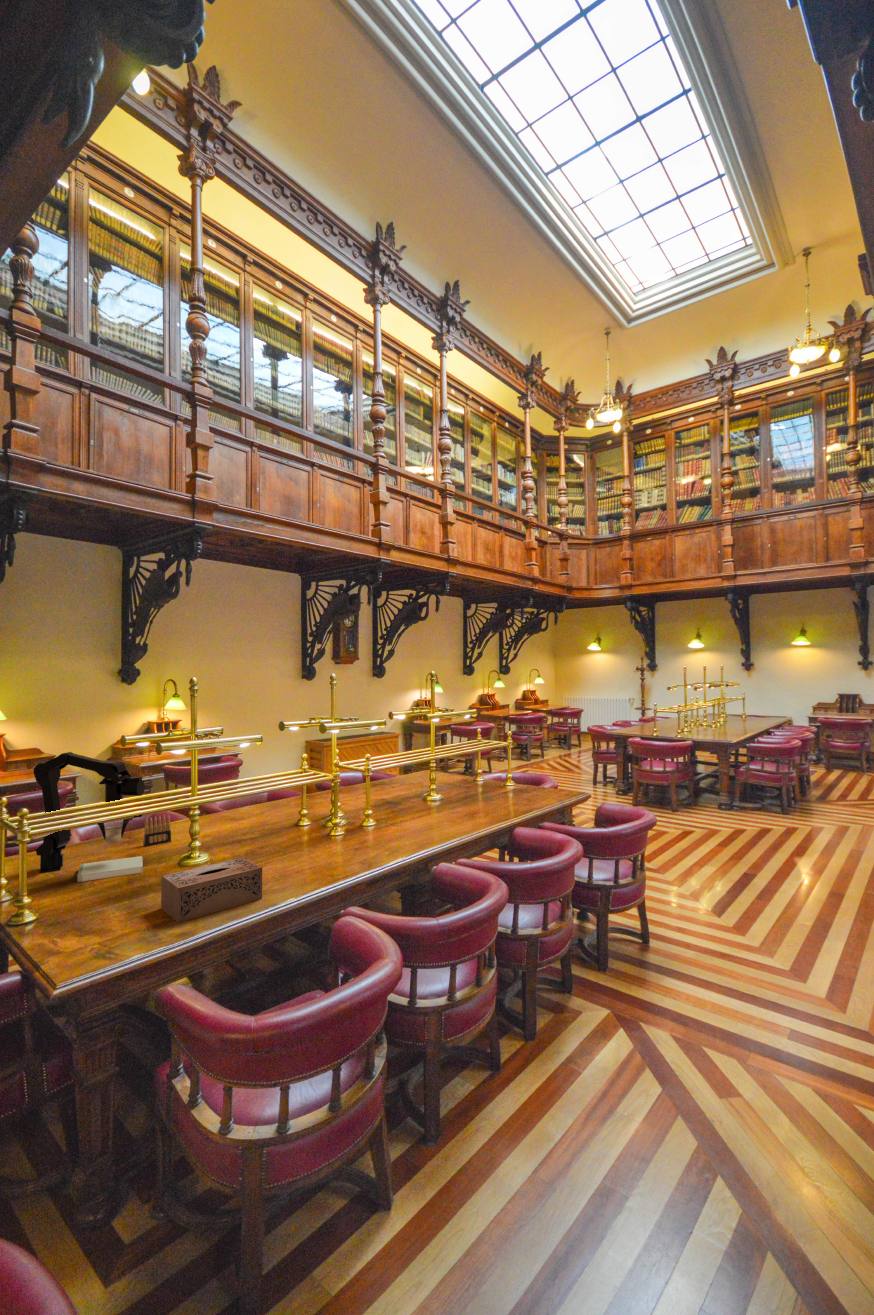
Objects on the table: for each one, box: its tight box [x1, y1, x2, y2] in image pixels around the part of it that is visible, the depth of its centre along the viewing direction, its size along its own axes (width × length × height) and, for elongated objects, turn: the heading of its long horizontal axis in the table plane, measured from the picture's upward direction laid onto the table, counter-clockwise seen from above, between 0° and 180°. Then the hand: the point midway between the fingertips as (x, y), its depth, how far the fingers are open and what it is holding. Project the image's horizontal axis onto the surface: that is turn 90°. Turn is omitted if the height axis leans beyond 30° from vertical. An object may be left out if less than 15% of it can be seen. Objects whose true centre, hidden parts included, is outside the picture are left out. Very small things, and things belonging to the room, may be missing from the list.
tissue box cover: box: [160, 857, 263, 923], centre depth 177 cm, size 26×14×10 cm, turn 133°
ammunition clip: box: [142, 813, 172, 847], centre depth 243 cm, size 11×2×12 cm, turn 133°
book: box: [76, 855, 144, 883], centre depth 207 cm, size 20×14×3 cm
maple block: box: [105, 825, 122, 845], centre depth 210 cm, size 5×5×5 cm
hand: (113, 838), depth 210 cm, fingers closed on maple block, 5 cm apart
